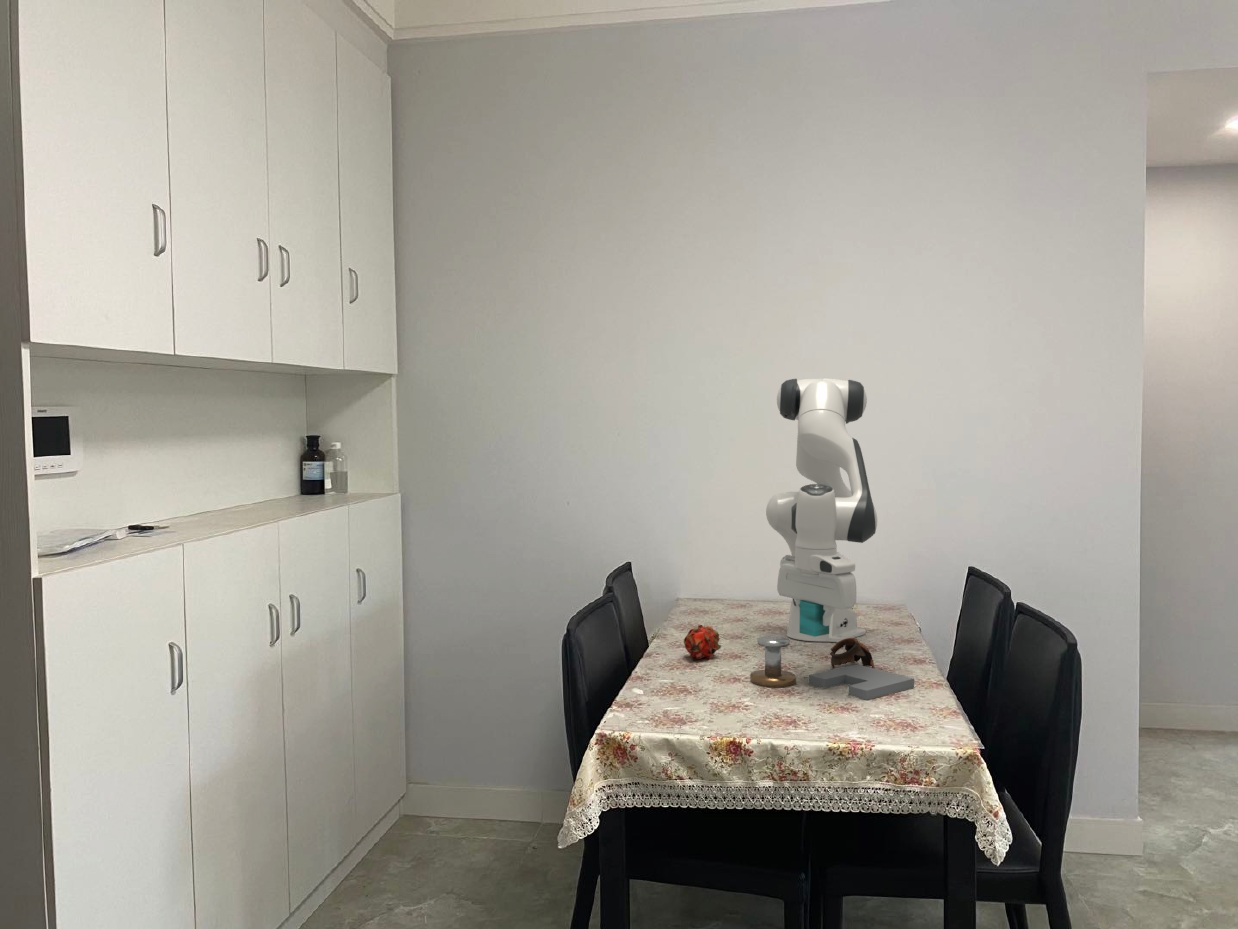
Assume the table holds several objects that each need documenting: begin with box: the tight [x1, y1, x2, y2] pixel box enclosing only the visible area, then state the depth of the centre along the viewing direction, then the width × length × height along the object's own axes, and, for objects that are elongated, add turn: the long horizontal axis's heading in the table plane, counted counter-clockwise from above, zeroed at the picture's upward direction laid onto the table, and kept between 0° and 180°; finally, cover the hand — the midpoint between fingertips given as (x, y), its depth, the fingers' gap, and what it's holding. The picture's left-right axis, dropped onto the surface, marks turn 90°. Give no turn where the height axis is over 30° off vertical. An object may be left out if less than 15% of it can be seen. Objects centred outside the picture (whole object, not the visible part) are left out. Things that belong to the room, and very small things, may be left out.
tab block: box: [799, 601, 829, 637], centre depth 218 cm, size 4×4×7 cm
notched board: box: [808, 663, 915, 701], centre depth 219 cm, size 16×16×2 cm
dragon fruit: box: [683, 624, 722, 661], centre depth 245 cm, size 8×8×12 cm
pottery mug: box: [829, 637, 876, 669], centre depth 235 cm, size 12×9×8 cm
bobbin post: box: [749, 635, 797, 689], centre depth 222 cm, size 10×10×10 cm
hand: (814, 622), depth 218 cm, fingers closed on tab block, 4 cm apart
